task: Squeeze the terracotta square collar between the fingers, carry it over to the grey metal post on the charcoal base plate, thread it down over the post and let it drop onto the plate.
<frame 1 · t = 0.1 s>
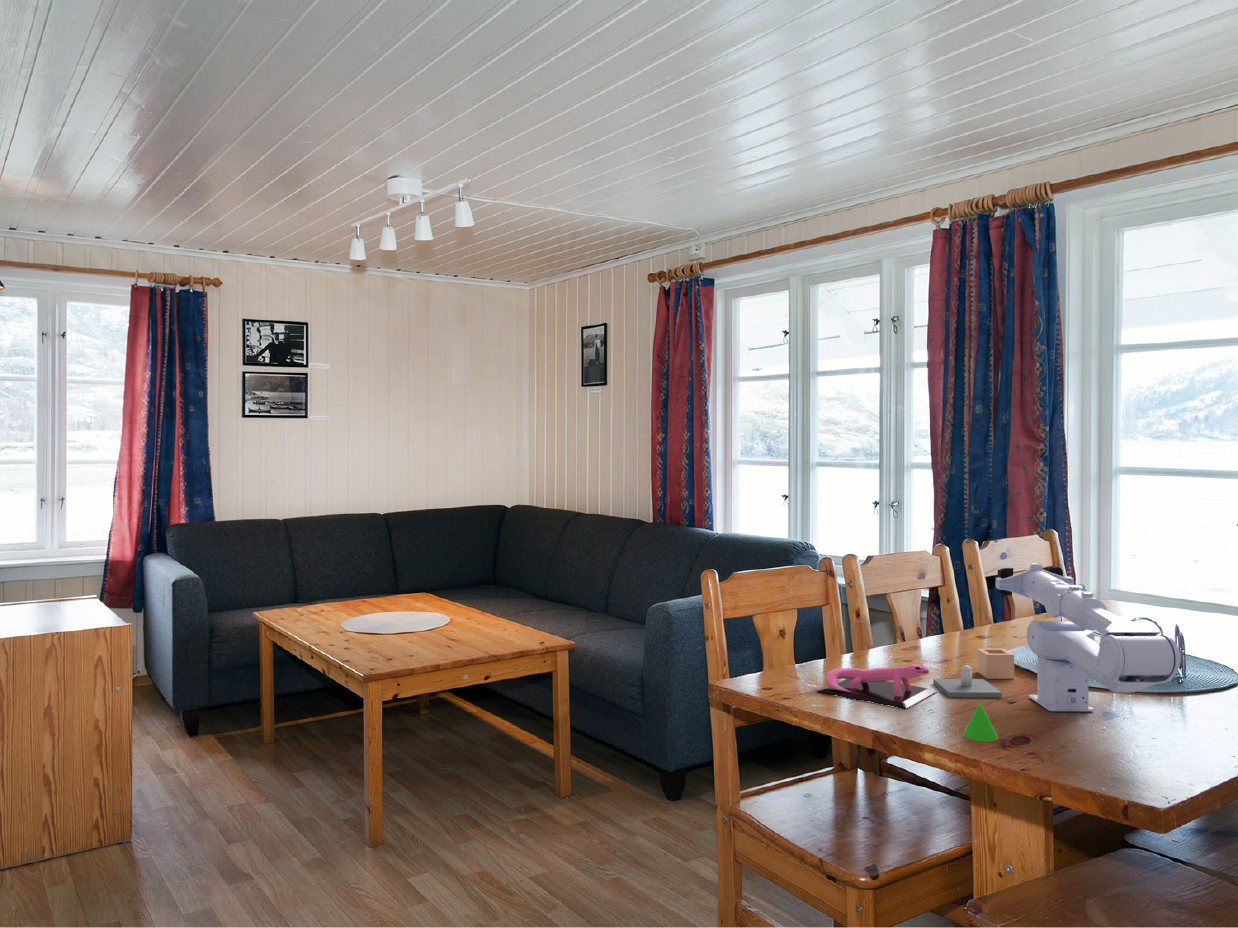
hand: (1018, 574, 187), 22 cm above the table, tool horizontal, fingers open, 7 cm apart
collar: (995, 675, 190), on the table
lizard figurine: (880, 697, 177), on the table
green cone: (980, 738, 151), on the table
post plate: (966, 690, 178), on the table
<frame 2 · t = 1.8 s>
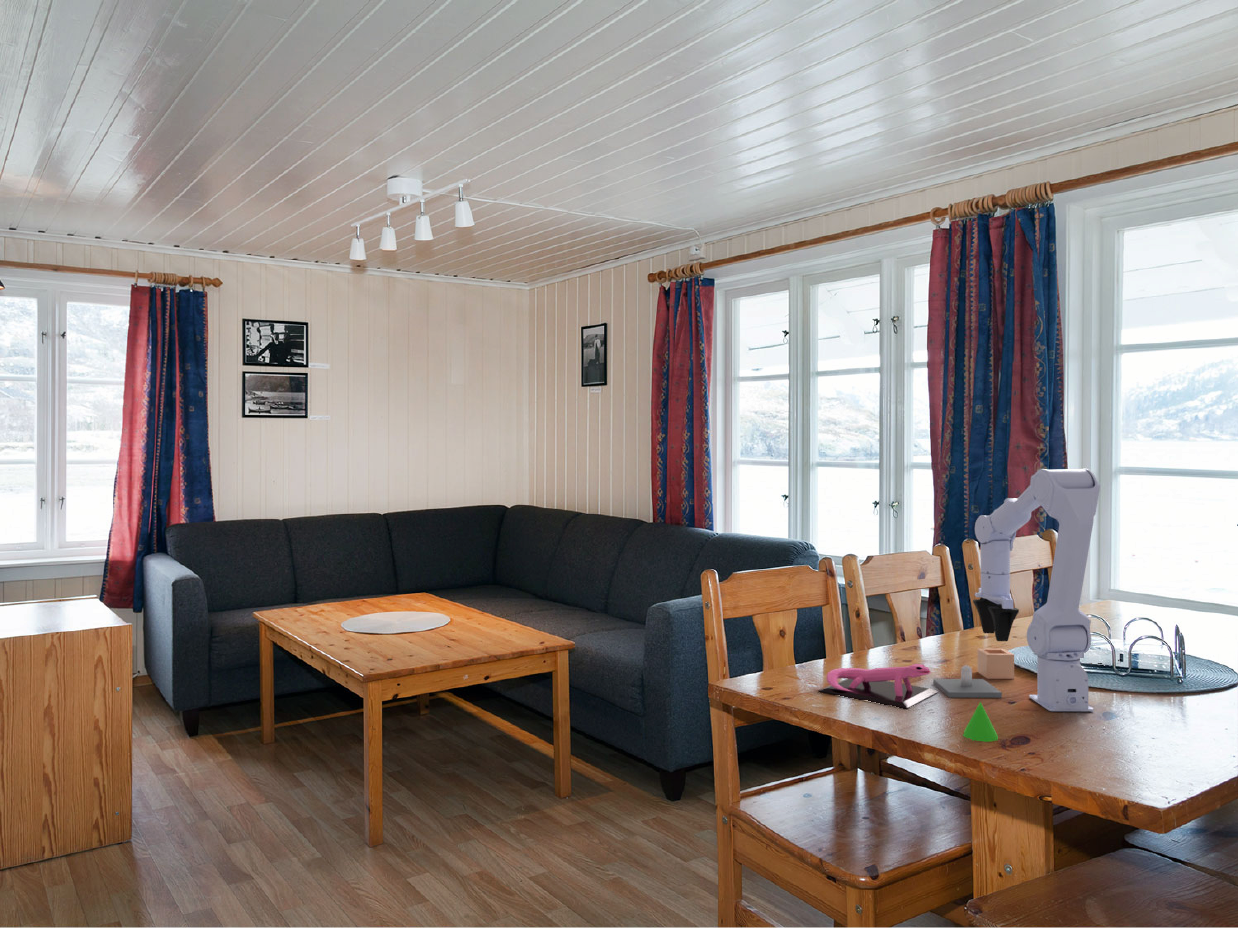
hand: (995, 636, 190), 8 cm above the table, tool pointing down, fingers open, 7 cm apart
nothing on the table moved.
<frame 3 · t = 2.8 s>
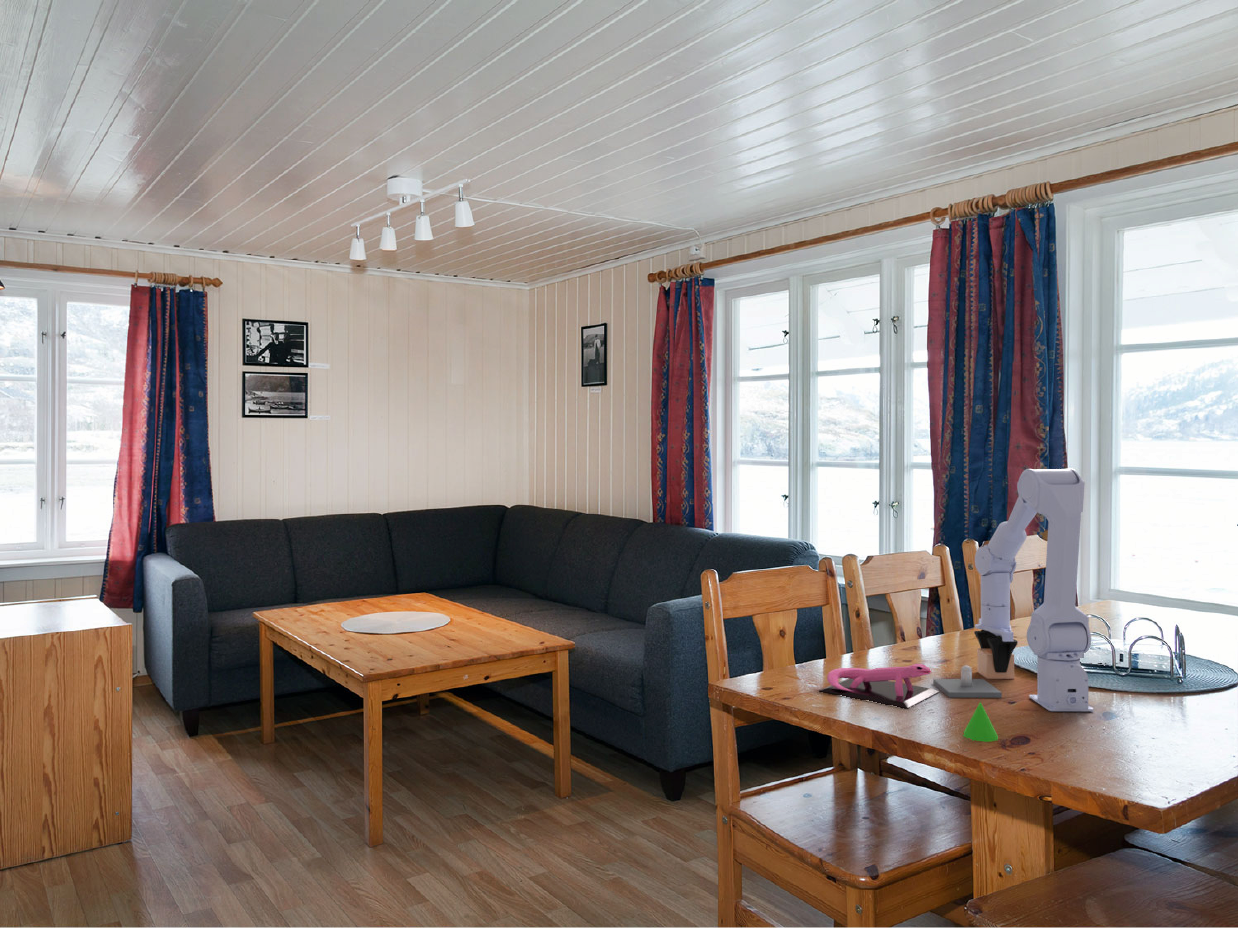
hand: (995, 668, 190), 1 cm above the table, tool pointing down, fingers closed on collar, 6 cm apart
collar: (995, 675, 190), on the table, touching gripper
everything else where it was.
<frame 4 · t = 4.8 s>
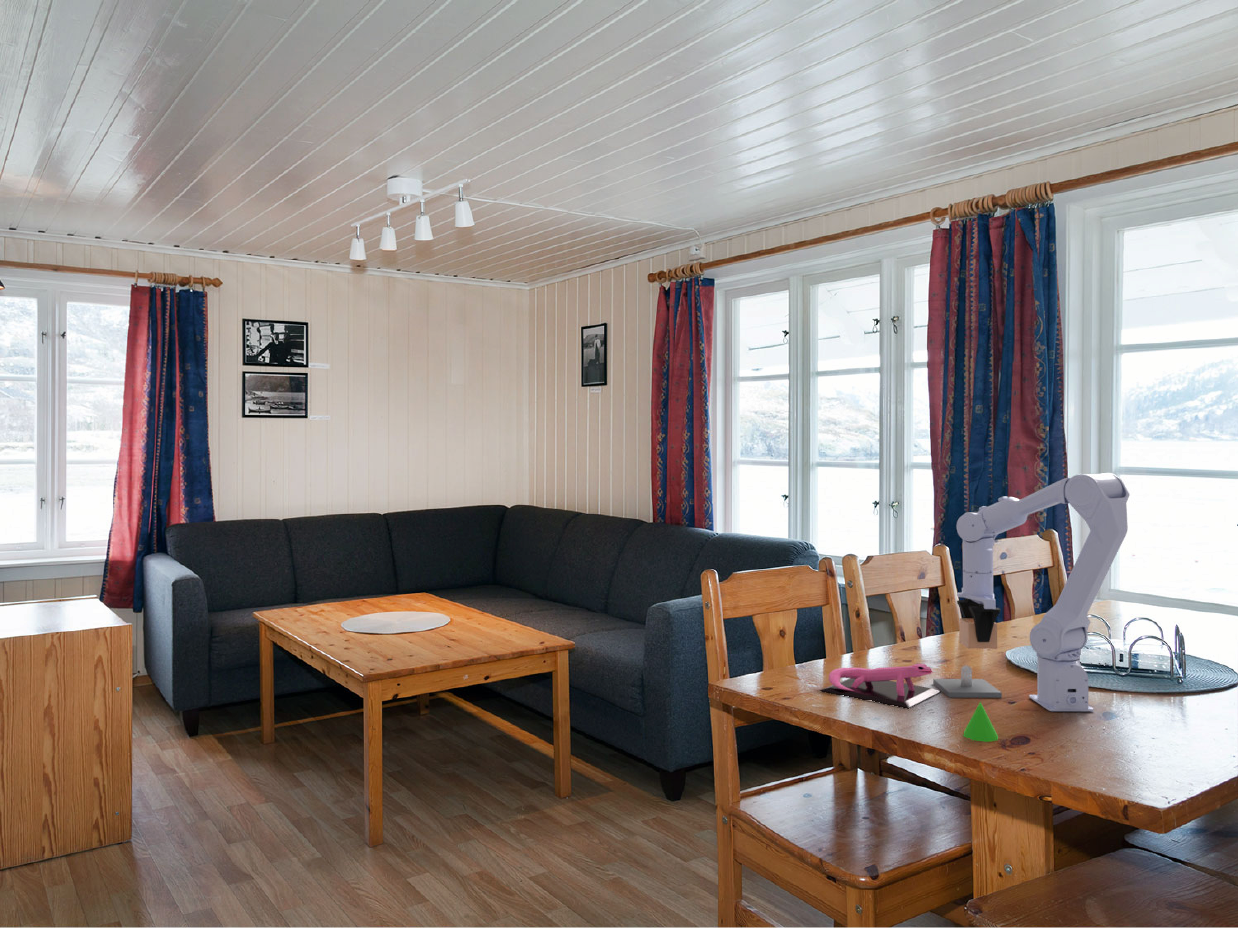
hand: (978, 638, 183), 9 cm above the table, tool pointing down, fingers closed on collar, 6 cm apart
collar: (978, 645, 183), point 8 cm above the table, touching gripper
everything else where it was.
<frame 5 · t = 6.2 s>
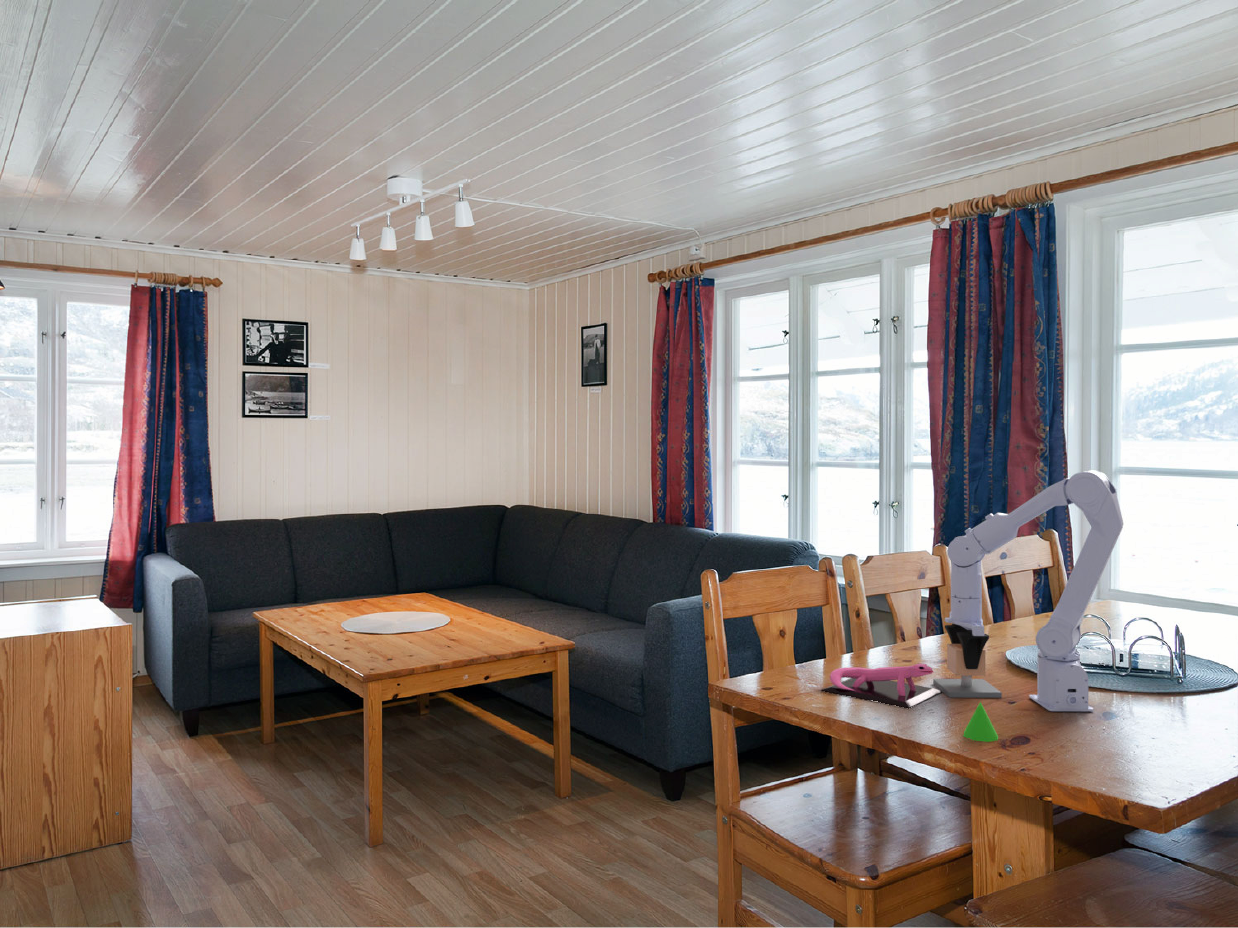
hand: (966, 664, 178), 5 cm above the table, tool pointing down, fingers closed on collar, 6 cm apart
collar: (965, 671, 178), point 4 cm above the table, touching gripper
when the fingers open (4 cm above the table, at t = 7.1 s): collar drops 1 cm, resting on post plate.
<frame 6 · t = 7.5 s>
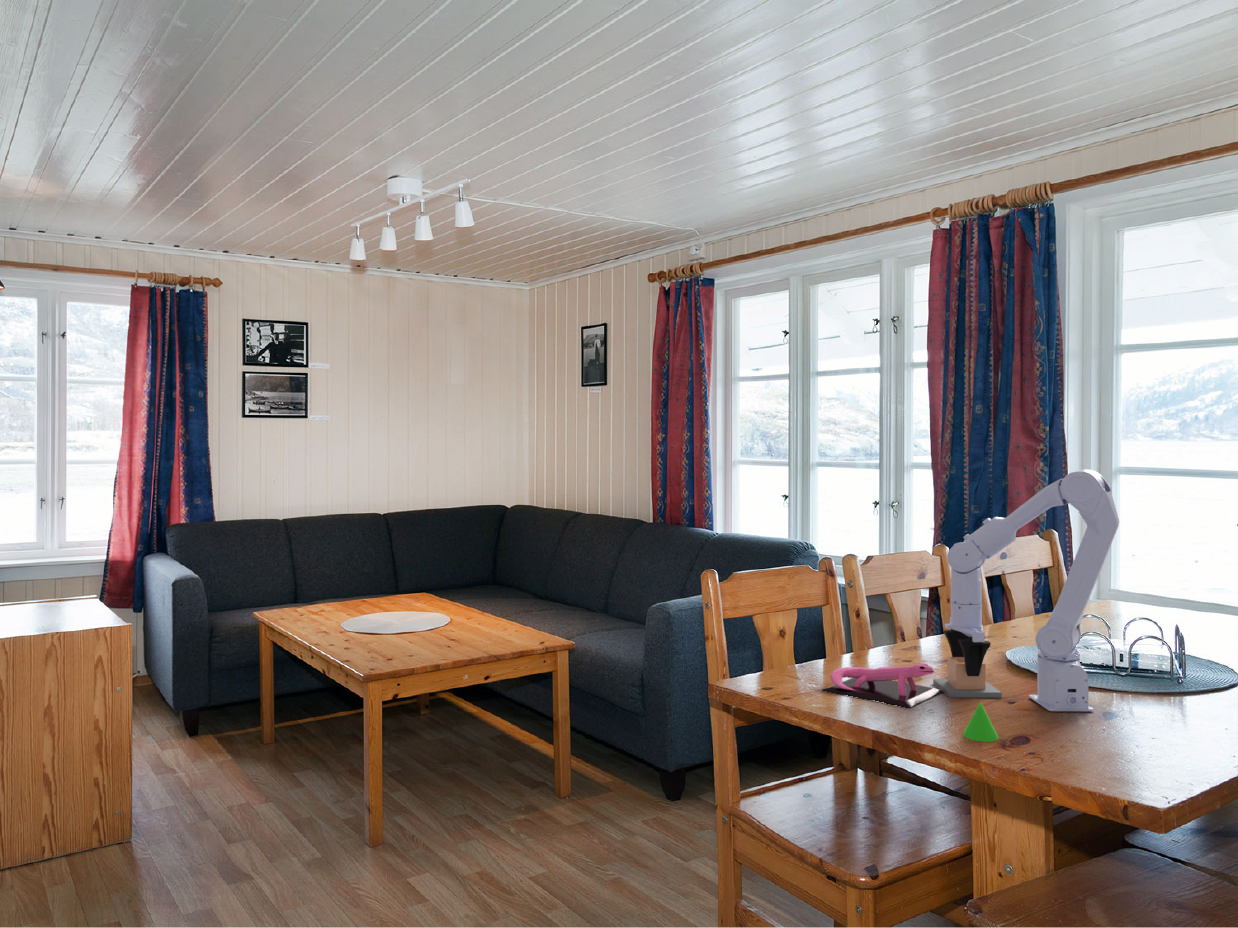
hand: (966, 670, 178), 4 cm above the table, tool pointing down, fingers open, 7 cm apart
collar: (966, 685, 178), point 1 cm above the table, touching post plate
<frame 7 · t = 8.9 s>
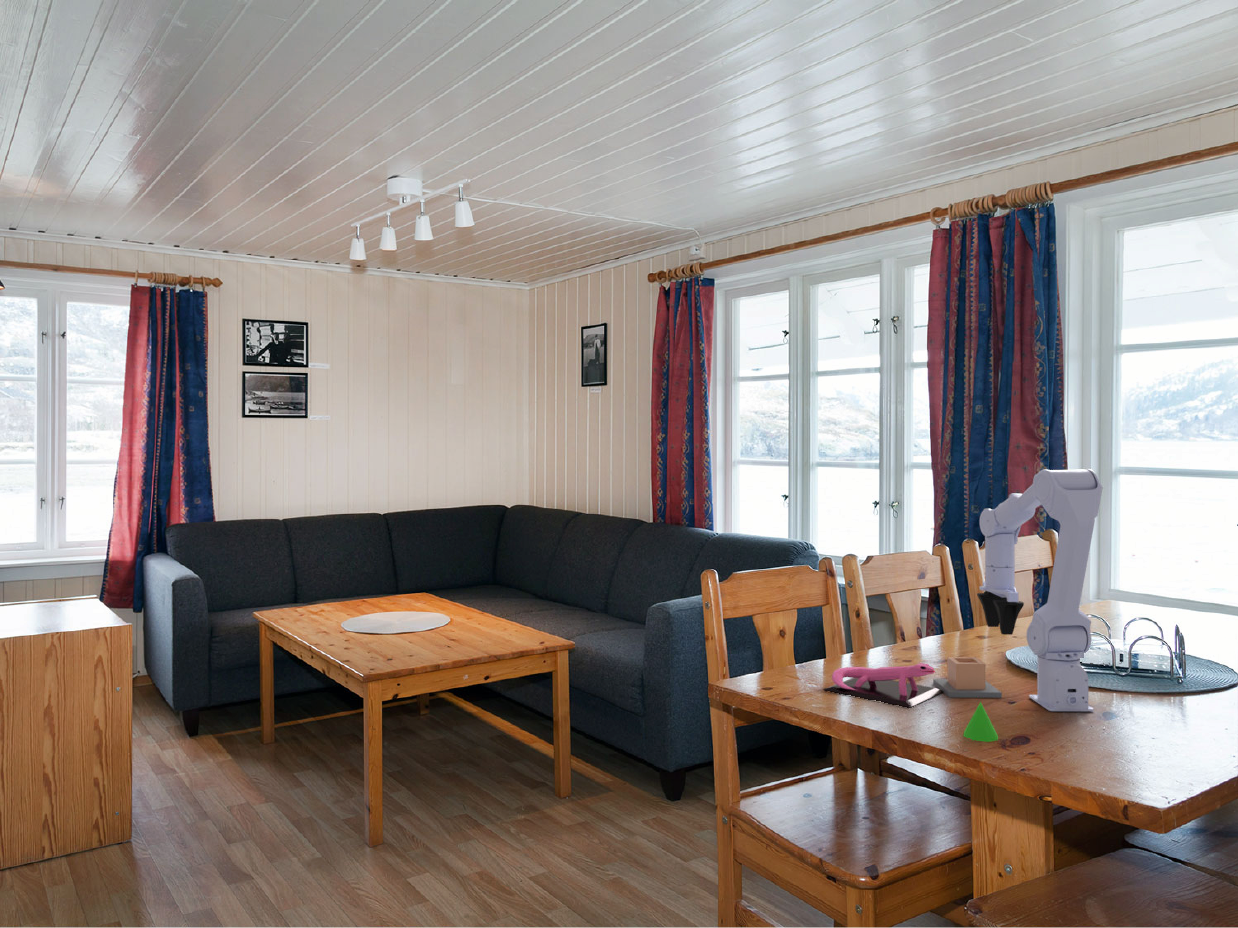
hand: (999, 630, 190), 9 cm above the table, tool pointing down, fingers open, 7 cm apart
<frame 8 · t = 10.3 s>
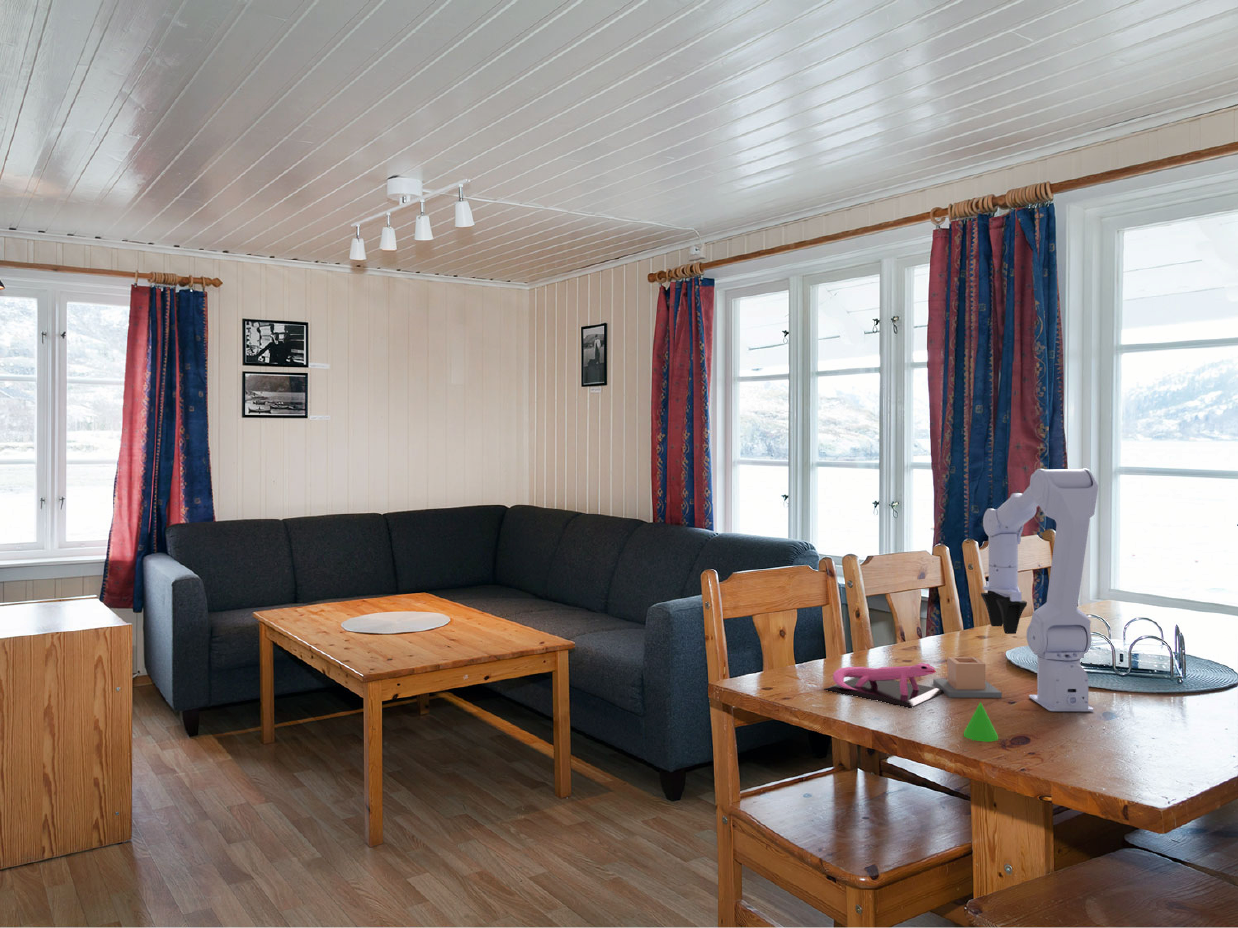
hand: (1003, 629, 191), 9 cm above the table, tool pointing down, fingers open, 7 cm apart
at the end: collar 0.1 cm off-centre on the post plate, point 1.0 cm above the post plate's base; collar tilted 0°; the gripper is holding nothing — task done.
